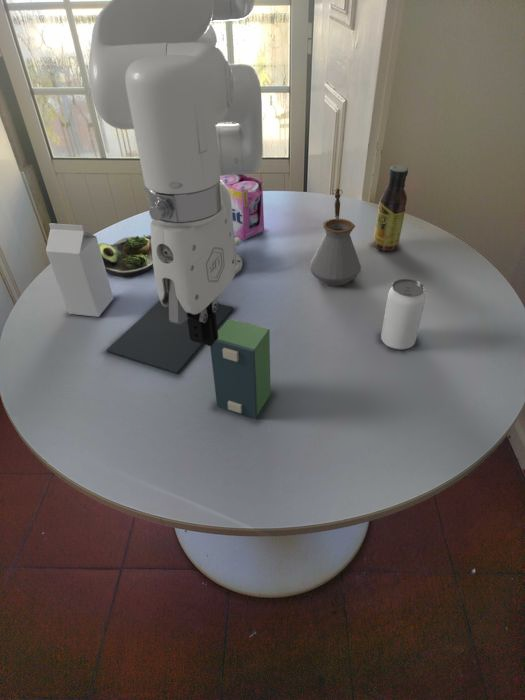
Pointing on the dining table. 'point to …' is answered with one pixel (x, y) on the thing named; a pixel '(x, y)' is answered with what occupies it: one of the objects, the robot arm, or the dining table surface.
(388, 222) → the sauce bottle
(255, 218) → the gum box
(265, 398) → the box
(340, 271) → the coffee pot
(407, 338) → the can
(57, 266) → the milk carton
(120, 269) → the salad plate
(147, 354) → the placemat
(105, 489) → the dining table surface
